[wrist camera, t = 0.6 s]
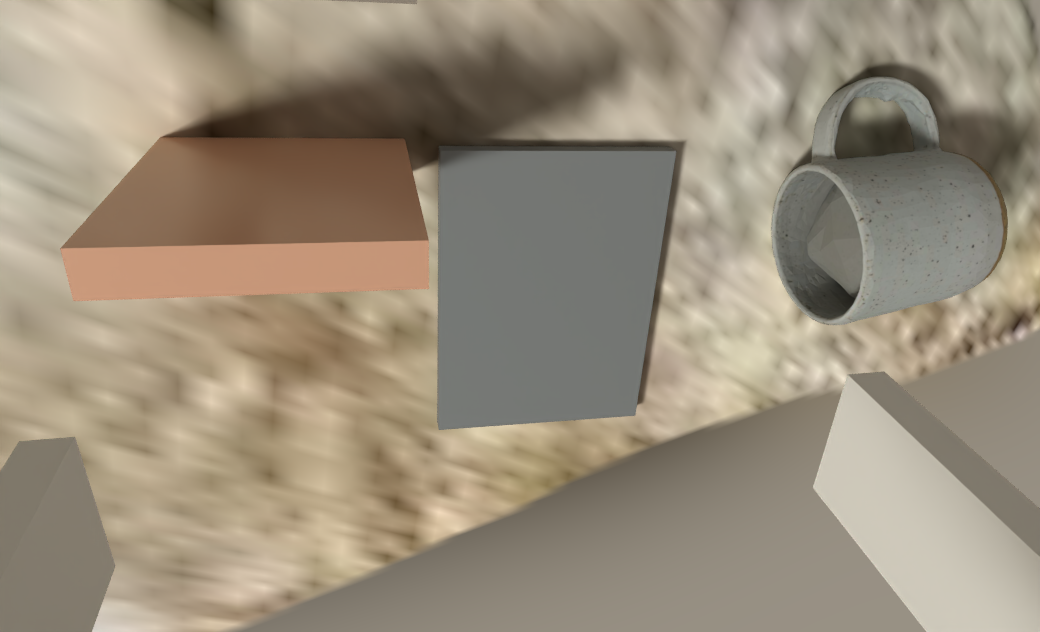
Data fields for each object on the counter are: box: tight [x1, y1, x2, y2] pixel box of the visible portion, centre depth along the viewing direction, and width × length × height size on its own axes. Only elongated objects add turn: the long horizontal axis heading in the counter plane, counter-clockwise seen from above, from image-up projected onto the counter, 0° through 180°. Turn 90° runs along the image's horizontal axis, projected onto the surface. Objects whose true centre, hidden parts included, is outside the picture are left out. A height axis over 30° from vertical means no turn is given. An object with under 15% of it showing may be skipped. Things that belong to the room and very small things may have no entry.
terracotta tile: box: [60, 137, 429, 301], centre depth 27 cm, size 2×10×12 cm, turn 87°
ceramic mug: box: [771, 77, 1008, 325], centre depth 34 cm, size 11×8×8 cm
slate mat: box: [437, 146, 676, 430], centre depth 37 cm, size 15×11×1 cm
